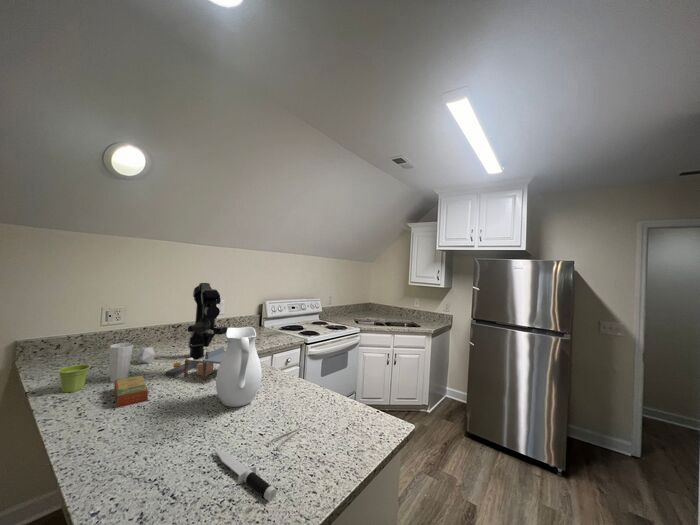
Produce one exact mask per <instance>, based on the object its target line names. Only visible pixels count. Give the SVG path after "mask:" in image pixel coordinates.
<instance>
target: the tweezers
mask: <svg viewBox="0 0 700 525" xmlns="http://www.w3.org/2000/svg"><path fill="white" fill-rule="evenodd" d="M300 428H301V429H300ZM300 428H297V429H294V430H291V431H289V432H286V433H283V434H280V435H278V436H276V437H275V438H272V439H271V440H269V441H267V442H266V444H265V445H266V447H267V448H269V447H270V446H271V445H272V444H274V443H276V442H278V441H280V440H282V439H284V438H285V437H287V438H285V439H284V440H283V441H281V443H279V445H277V446H276V447H273V448H272V450H273V451H275V452H276V450H277V451H278V450H279V449H280V448H281V447H282V446H283V445H285V444H286V443H287V442H288V441H289V440H291V439H292V438H293V437H294V436H296V435H297V434H298V433H299V432H300V431H302V429H304V427H303V426H301V427H300ZM287 435H288V436H287ZM289 435H290V436H289ZM273 442H274V443H273ZM285 442H286V443H285ZM271 443H272V444H271ZM275 449H276V450H275Z"/></svg>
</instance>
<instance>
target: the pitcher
mask: <svg viewBox="0 0 700 525" xmlns="http://www.w3.org/2000/svg"><path fill="white" fill-rule="evenodd" d="M227 328H228V329H227V332H226V333H225V336H226V340H227V344H226V349H225V351H226V352H225V354H224V356H223V358H222V361H221V363H220V364H218V365H219V366H218V368H217V372H216V378H215V389H216V393H217V395H218V398H219V400H220V401H221V403H222V404H223V405H224V406H226V407H229V408H232V407H233V408H237V407H242V406H243V407H244V406H246V405H248V404H250V403H252V401H254V399H255V397H256V396H257V393H258V391H259V389H260V387H261V384H262V379H263V378H262V374H263V372H262V365H261V360H260V358H259V355H258V354H259V353H258V352H257V349H256V342H255V341H256V338H257V333H256V329H255V327H252V326H245V327H244V326H243V327H227Z"/></svg>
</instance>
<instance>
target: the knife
mask: <svg viewBox="0 0 700 525" xmlns="http://www.w3.org/2000/svg"><path fill="white" fill-rule="evenodd" d="M212 450H213V451H214V452H215V453H216V455H217V456H218V458H219V460H220V461H221V462H222V463H223V464H225V466H227V467H228V468H229V469H230V470H231V471H232V472H234V474H236V475H237V476H238V477H237V485H239V484H240V483H241V484H243V483H246V484H247V485H249V487H251V488H252V489H253V490H254V491H256V493H258V494H259V495H260V496H262V497H263V498H264V499H265V501H267V502H269V503H270V502H271V501H272V500H274V499H275V498H276V495H277V489H276V488H275V487H273V486H272V485H271V484H269V483H268V482H267V481H265V479H263V478H262V477H260V476H259V475H258V474H257V466H251V467H250V468H247V466H245V465H244V464H243V463H241V462H240V461H239V460H237V459H236V458H235V457H234V456H232V455H231V454H230V453H229V452H227V451H226V450H225V451H224V450H221V449H216V448H213V449H212ZM242 482H243V483H242ZM241 484H240V485H241Z"/></svg>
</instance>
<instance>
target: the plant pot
mask: <svg viewBox="0 0 700 525" xmlns="http://www.w3.org/2000/svg"><path fill="white" fill-rule="evenodd" d="M89 369H91V365H89V364H77V365H76V364H75V365H69V366H65V367H62V368H60V369H59V370H57V372H58V373H59V376H60V382H61V391H62V393H65V394H66V393H69V392H70V393H76V392H77V391H80V390H83V388H84V387H85V383H86V379H87V376H88V375H87V374H88V372H89Z"/></svg>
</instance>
